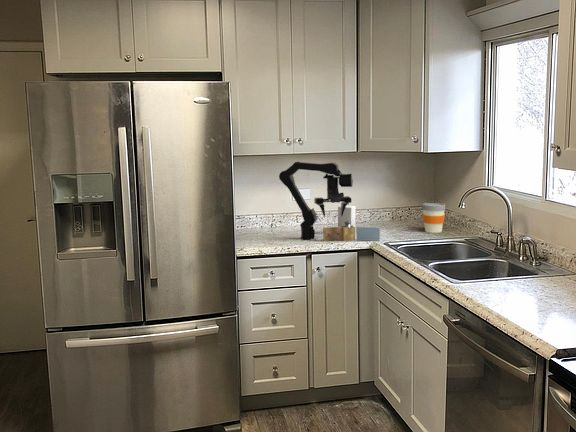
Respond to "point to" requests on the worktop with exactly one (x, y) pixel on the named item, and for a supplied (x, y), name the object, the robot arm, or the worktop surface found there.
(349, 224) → the hinge pin
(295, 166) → the robot arm
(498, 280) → the worktop surface
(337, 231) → the knuckle leaf
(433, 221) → the reusable coffee cup
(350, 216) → the skincare box
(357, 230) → the swing leaf
